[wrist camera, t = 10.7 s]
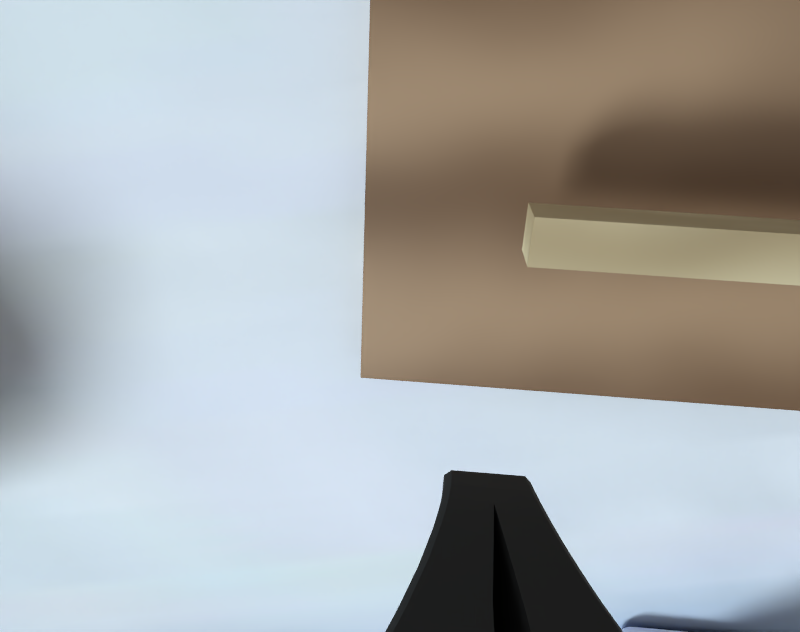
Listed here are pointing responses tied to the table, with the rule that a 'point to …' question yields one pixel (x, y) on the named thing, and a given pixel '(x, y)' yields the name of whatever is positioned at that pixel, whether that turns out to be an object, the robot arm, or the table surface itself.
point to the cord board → (585, 197)
